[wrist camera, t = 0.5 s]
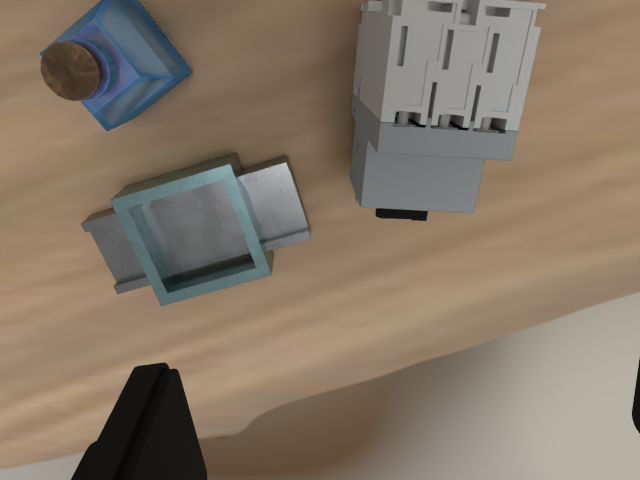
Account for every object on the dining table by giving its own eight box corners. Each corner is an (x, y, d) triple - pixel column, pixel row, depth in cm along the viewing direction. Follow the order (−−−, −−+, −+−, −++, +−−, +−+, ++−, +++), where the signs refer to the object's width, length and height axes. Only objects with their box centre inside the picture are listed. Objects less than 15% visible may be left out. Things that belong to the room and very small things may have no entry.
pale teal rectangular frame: (83, 199, 42) (62, 214, 39) (281, 139, 41) (279, 149, 37) (132, 295, 46) (118, 318, 42) (315, 243, 45) (316, 262, 41)
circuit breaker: (343, 184, 43) (365, 255, 29) (360, 4, 37) (396, -16, 23) (428, 189, 43) (488, 261, 29) (456, 12, 38) (547, -3, 24)
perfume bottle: (78, 51, 38) (-13, 57, 27) (138, 0, 37) (68, -16, 25) (134, 118, 40) (70, 148, 29) (192, 72, 39) (150, 85, 28)
